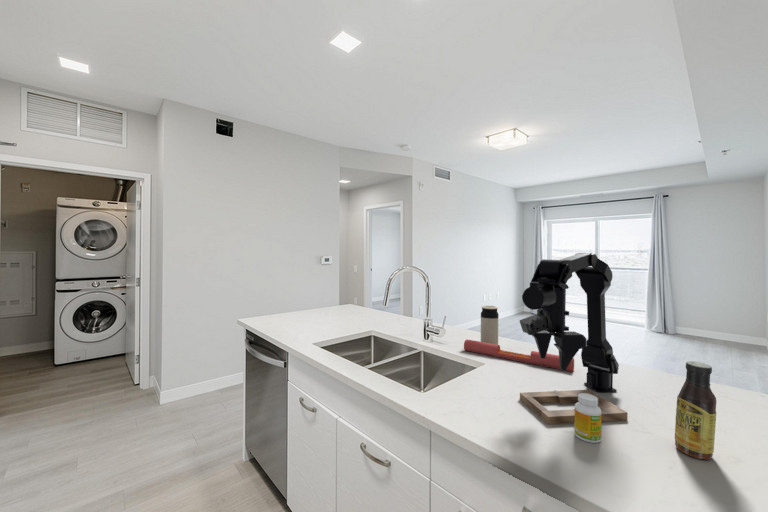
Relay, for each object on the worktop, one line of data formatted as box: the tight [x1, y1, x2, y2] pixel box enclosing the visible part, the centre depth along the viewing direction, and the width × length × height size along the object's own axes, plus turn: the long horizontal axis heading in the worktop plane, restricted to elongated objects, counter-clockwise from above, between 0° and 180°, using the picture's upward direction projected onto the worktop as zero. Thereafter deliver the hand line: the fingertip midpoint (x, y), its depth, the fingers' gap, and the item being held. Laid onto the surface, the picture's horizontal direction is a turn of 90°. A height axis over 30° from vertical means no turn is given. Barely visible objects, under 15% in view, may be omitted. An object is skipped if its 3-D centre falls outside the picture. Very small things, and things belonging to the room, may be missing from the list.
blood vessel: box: [463, 338, 575, 373], centre depth 131 cm, size 42×5×5 cm, turn 53°
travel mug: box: [480, 305, 499, 345], centre depth 152 cm, size 8×8×18 cm
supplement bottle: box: [574, 393, 602, 444], centre depth 76 cm, size 5×5×10 cm
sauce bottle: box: [674, 360, 717, 461], centre depth 70 cm, size 7×6×20 cm
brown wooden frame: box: [519, 389, 629, 425], centre depth 90 cm, size 22×14×2 cm, turn 96°
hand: (552, 363), depth 86 cm, fingers open, 9 cm apart
